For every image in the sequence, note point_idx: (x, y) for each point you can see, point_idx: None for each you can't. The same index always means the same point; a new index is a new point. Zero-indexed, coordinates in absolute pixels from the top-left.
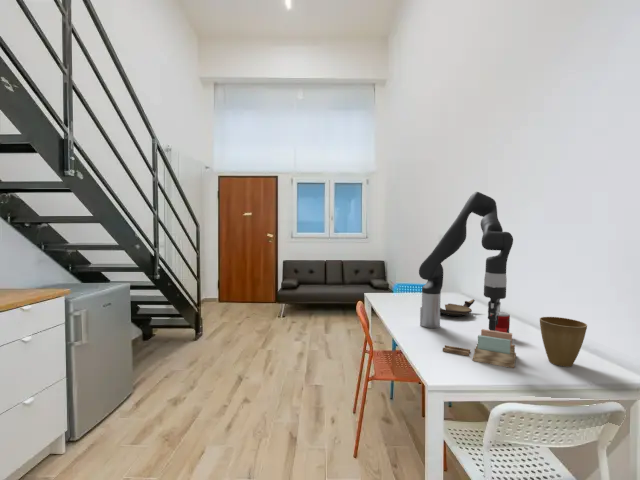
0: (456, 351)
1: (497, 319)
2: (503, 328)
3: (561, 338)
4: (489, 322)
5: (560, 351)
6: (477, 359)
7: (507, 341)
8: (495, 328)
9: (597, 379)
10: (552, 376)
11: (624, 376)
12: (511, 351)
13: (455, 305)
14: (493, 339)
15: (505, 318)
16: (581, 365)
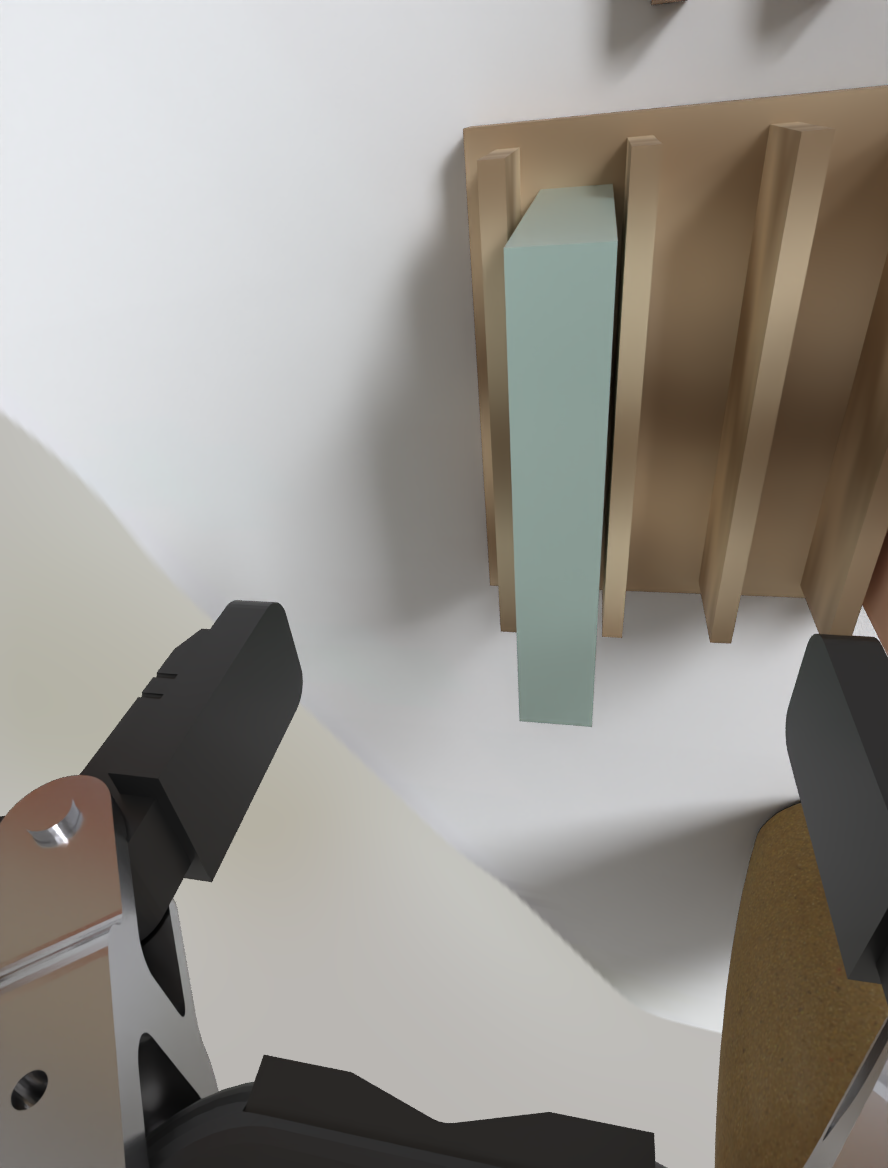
0: None
1: (815, 855)
2: None
3: (720, 1097)
4: (152, 723)
5: (733, 952)
6: (470, 206)
7: (521, 686)
8: (282, 718)
9: (590, 923)
10: (486, 767)
11: (721, 1013)
12: (711, 609)
13: None
14: (515, 525)
15: None
16: None
